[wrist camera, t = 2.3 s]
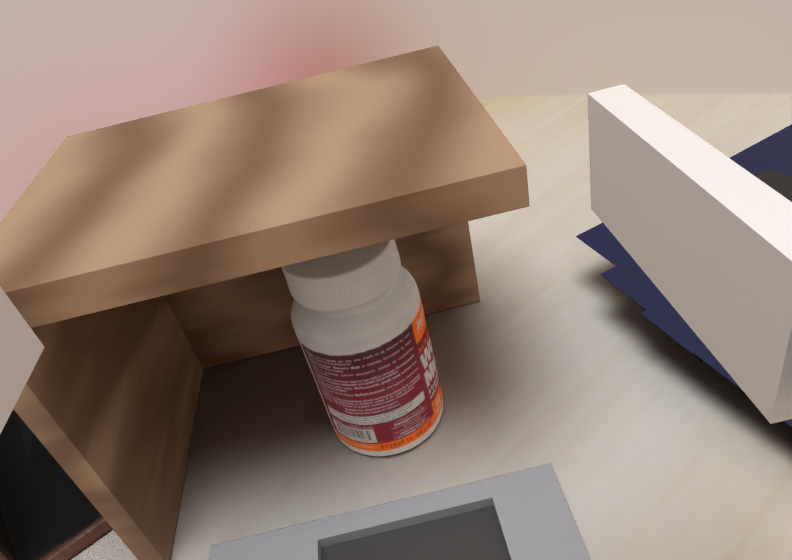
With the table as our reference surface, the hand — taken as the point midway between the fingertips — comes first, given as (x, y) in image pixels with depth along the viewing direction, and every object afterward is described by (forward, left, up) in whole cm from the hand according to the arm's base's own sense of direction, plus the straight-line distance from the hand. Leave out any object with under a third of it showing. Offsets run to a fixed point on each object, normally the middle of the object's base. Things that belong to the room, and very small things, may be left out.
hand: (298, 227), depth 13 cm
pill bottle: (0, +12, -19) cm, 22 cm away
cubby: (-3, +13, -19) cm, 23 cm away
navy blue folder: (+28, +8, -19) cm, 35 cm away
